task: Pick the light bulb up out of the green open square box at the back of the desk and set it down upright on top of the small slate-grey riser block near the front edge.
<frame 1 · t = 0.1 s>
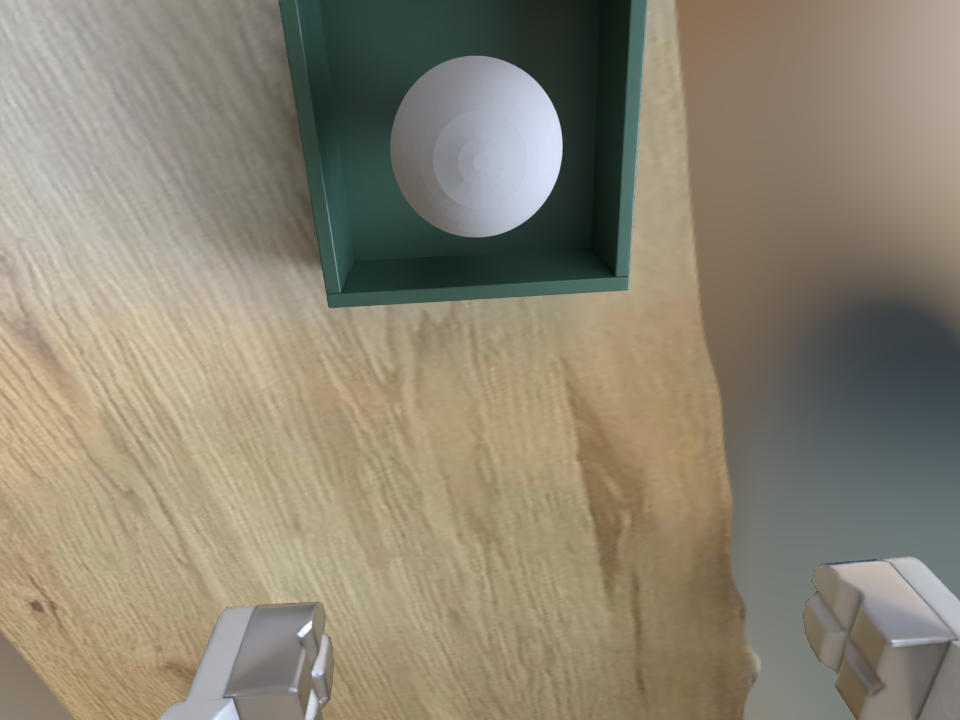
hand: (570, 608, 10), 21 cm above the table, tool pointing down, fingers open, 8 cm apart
light bulb: (467, 128, 26), resting on green open square box
green open square box: (467, 127, 27), on the table
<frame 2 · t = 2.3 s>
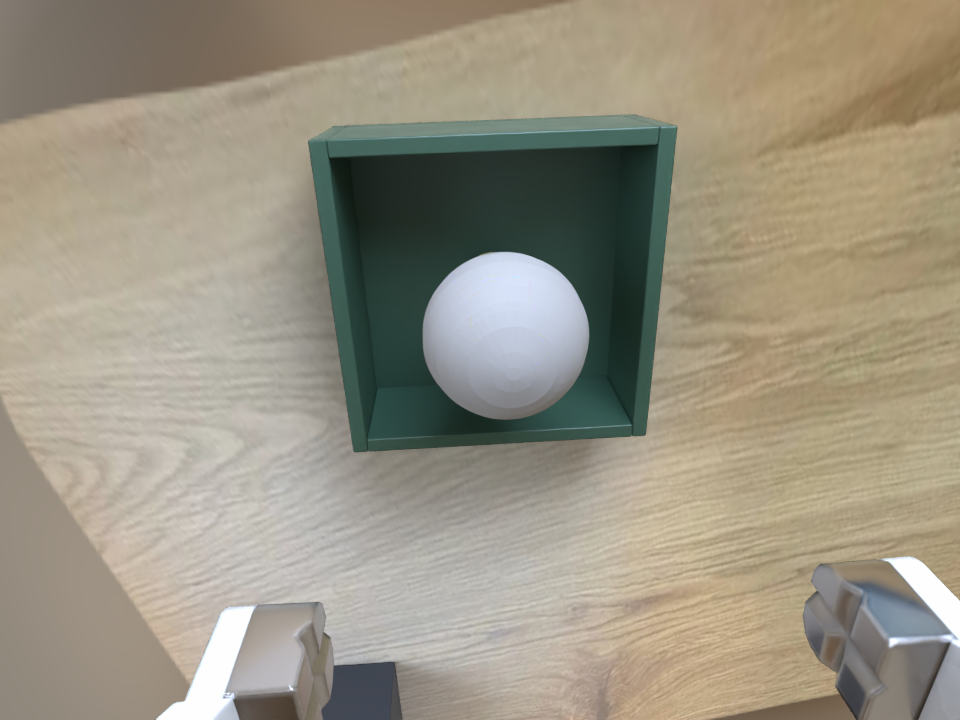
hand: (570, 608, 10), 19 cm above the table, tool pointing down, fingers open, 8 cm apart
riser: (345, 702, 39), on the table
light bulb: (489, 268, 27), resting on green open square box
green open square box: (489, 266, 27), on the table
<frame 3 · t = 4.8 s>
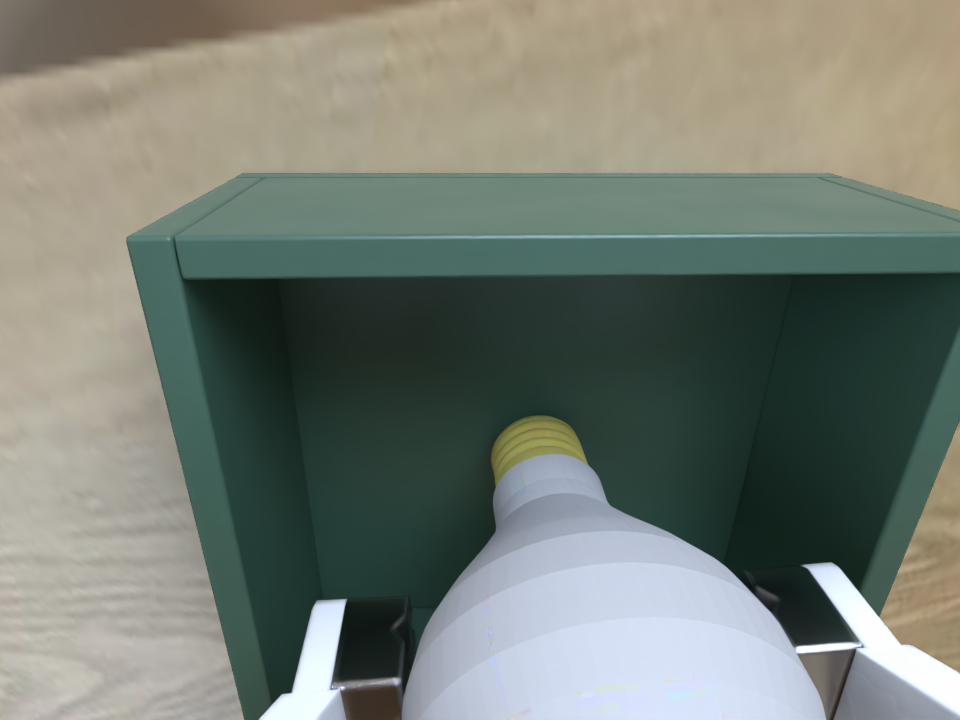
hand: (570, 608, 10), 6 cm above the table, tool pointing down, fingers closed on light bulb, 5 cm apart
light bulb: (531, 433, 15), resting on green open square box, touching gripper
green open square box: (530, 426, 15), on the table
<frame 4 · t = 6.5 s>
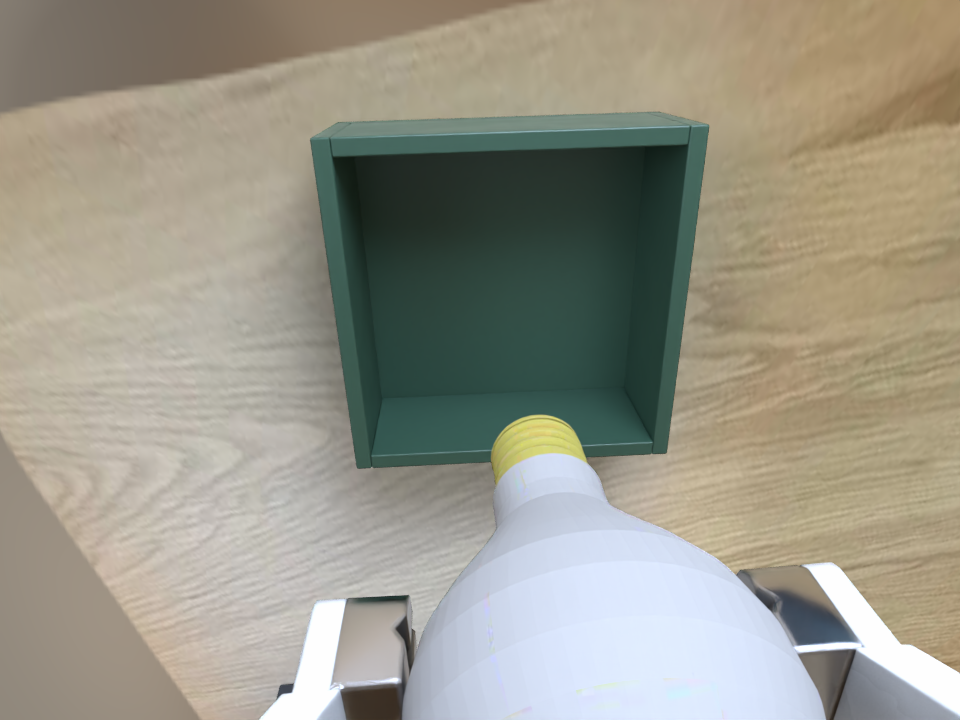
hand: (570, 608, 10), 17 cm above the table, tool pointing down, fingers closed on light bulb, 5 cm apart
light bulb: (531, 432, 15), point 12 cm above the table, touching gripper
green open square box: (501, 272, 26), on the table
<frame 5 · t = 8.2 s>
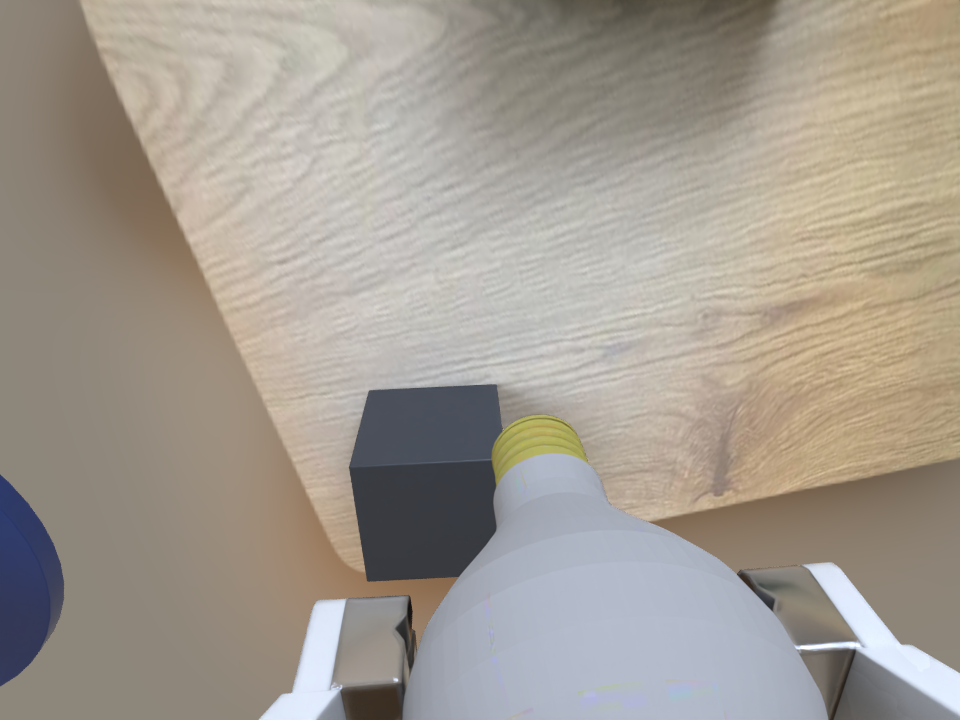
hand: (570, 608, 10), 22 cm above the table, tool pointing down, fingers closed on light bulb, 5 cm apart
riser: (436, 440, 35), on the table
light bulb: (532, 432, 15), point 17 cm above the table, touching gripper
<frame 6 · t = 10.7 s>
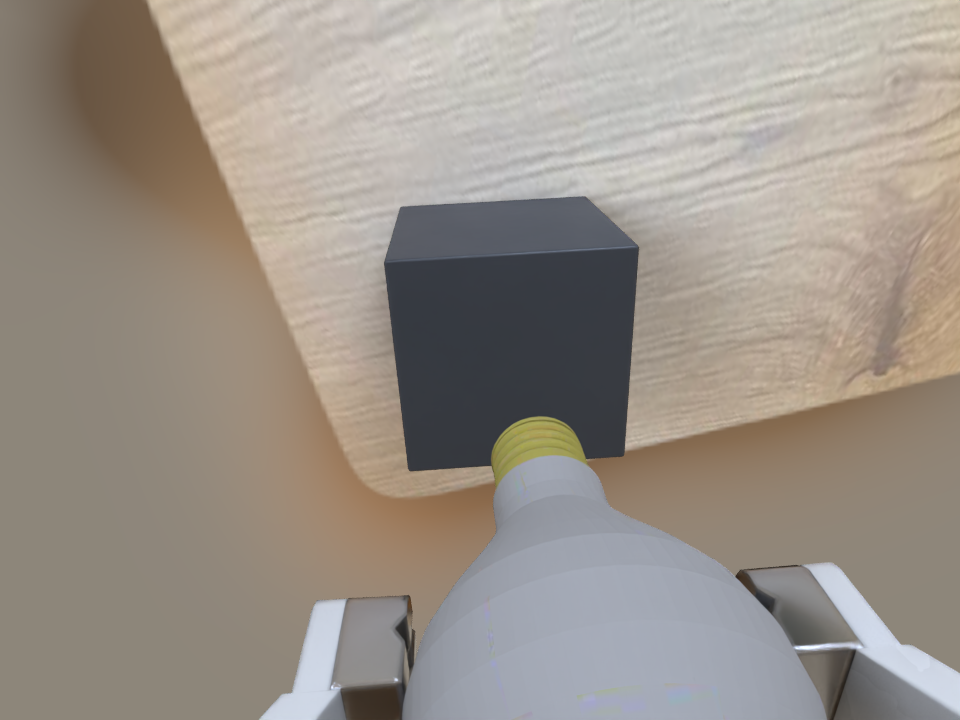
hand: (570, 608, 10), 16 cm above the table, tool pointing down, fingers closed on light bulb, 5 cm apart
riser: (496, 289, 24), on the table
light bulb: (532, 434, 15), point 11 cm above the table, touching gripper
when the fingers open (12 cm above the table, at t = 12.2 s): light bulb stays where it is, resting on riser.
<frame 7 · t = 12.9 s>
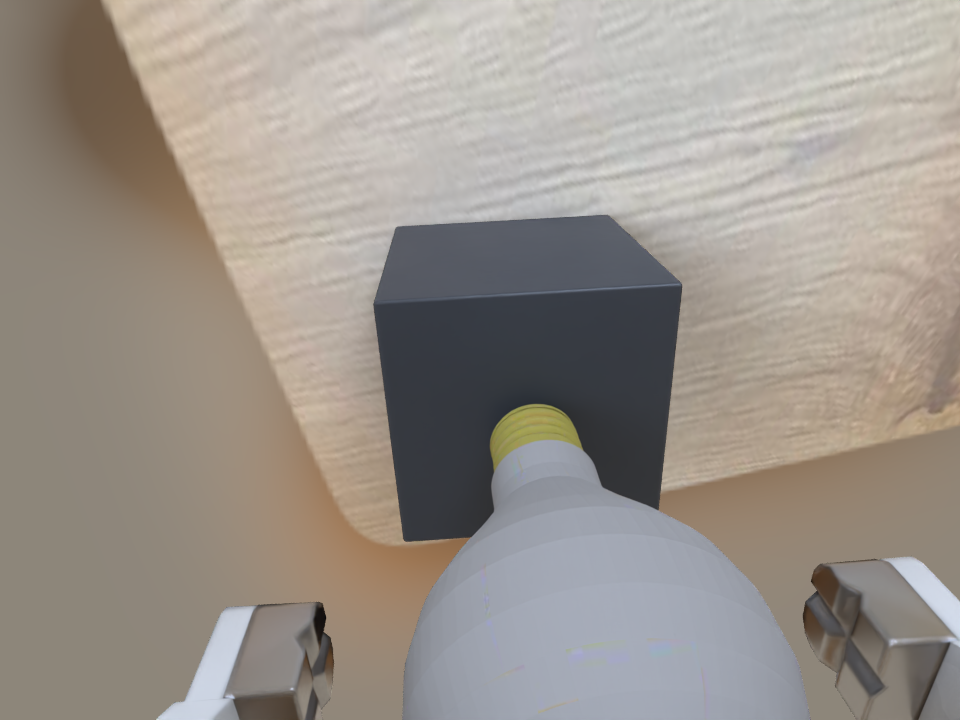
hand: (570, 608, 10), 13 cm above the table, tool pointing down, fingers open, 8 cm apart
riser: (505, 319, 22), on the table
light bulb: (529, 422, 15), point 7 cm above the table, touching riser
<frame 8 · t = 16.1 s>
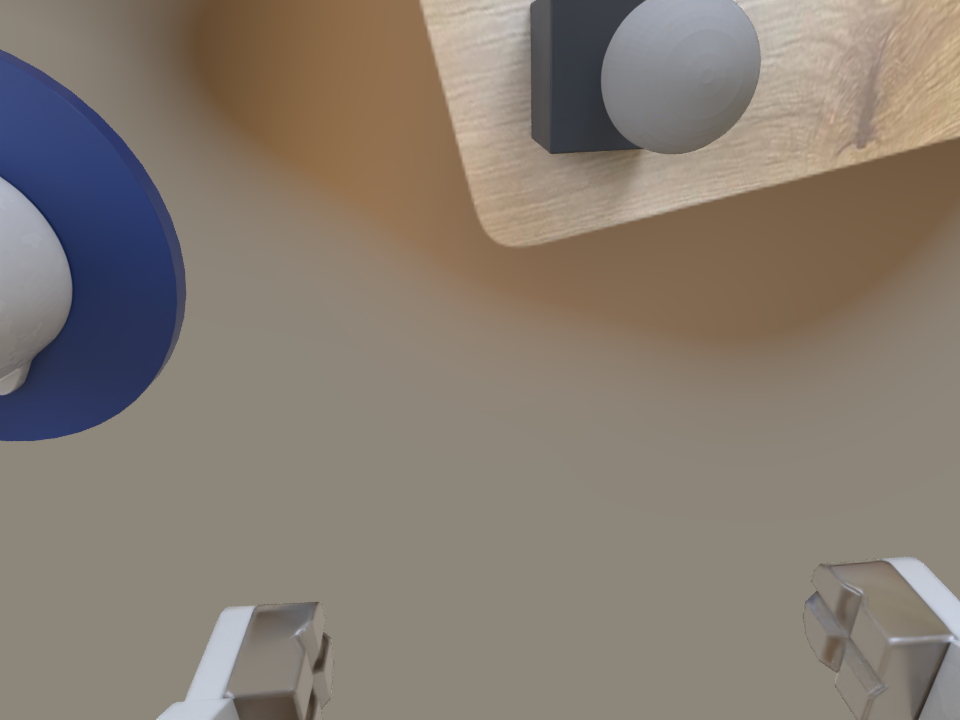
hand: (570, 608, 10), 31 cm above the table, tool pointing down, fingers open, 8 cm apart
riser: (591, 70, 35), on the table
light bulb: (623, 72, 29), point 7 cm above the table, touching riser
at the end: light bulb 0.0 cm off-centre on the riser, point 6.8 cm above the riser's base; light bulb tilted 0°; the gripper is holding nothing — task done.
